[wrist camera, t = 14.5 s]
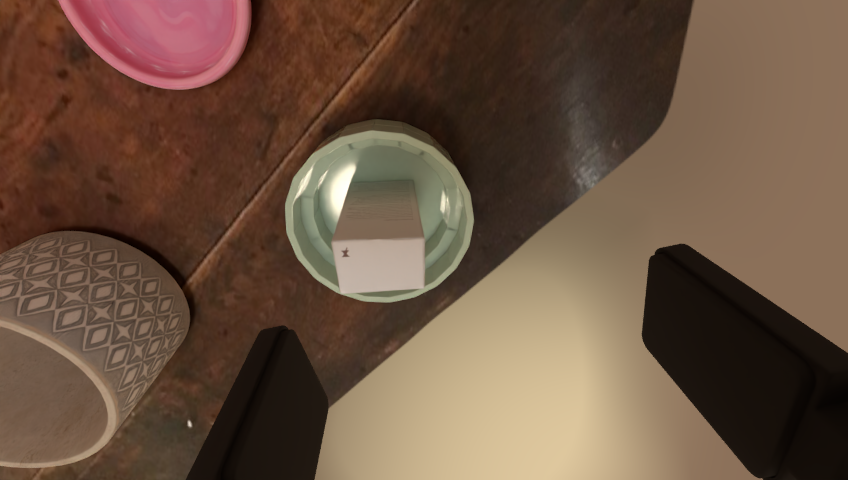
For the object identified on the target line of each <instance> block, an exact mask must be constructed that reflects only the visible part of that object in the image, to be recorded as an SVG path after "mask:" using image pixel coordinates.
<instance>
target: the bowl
mask: <svg viewBox="0 0 848 480" xmlns="http://www.w3.org/2000/svg"><path fill="white" fill-rule="evenodd" d="M407 180H413V181H414V184H415V190H416V195H417V201H418V207H419V212H420V218H421V223H422V228H423V232H424V237H425V288H424V289H409V290H393V291H379V292H365V293H350V294H342V295H345V296H348V297H351V298H355V299H358V300H361V301H369V302H394V301H399V300H404V299H409V298H413V297H416V296H418V295H420V294H422V293H424V292H426V291H428V290H430V289H432V288H434V287H436V286H438V285H439V284H440V283H441V282H442V281H443V280H444V279H445V278H446V277H448V276H449V275H450V274H451V273H452V272H453V271H454V270H455V269H456V268H457V267H458V265H459V263H460V261H461V259H462V258H463V256H464V254H465V252H466V251H467V249H468V247H469V244H470V239H471V234H472V229H473V224H474V215H473V209H472V202H471V195H470V192H469V190H468V188H467V186H466V184H465V183H464V181H463V179H462V177H461V175H460V173H459V171H458V169H457V168H456V166H455V164H454V162H453V160H452V159H451V157H450V155H449V153H448V152H447V151H446V150H445V149H444V148H443V147H442V146H441V145H440V144H439V143H438V142H437V141H436V140H435V139H434V138H433V137H432V136H430V135H429V134H428V133H426V132H424V131H422V130H420V129H417V128H415V127H413V126H411V125H409V124H407V123H404V122H399V121H390V120H381V119H372V120H367V121H363V122H358V123H354V124H349V125H347V126H345V127H343V128H342V129H340V130H339V131H337V132H335V133H334V134H332V135H331V136H329V137H327V138H326V139H325V140H323V142H322V143H321V144H320V145H319V146H318V148H317V149H316V150H315V151H314V152H313V153H312V155H311V156H310V157H309V158H308V160H307V161H306V162H305V164H304V165H303V166H302V167H301V169H300V170H299V171H298V172H297V174H296V175H295V176H294V178H293V181H292V184H291V187H290V190H289V193H288V197H287V200H286V203H285V215H286V232H287V235H288V237H289V240H290V242H291V245H292V247H293V249H294V252H295V254H296V256H297V258H298V260H299V261H300V262H301V263H302V264H303V265H304V266H305V268H306V269H307V270H308V271H309V272H310V273H311V275H312V276H313V277H314V278H315V279H316V280H318V281H320V282H321V283H323V284H324V285H326V286H327V287H329V288H330V289H332V290H333V291H335V292H337V293H339V294H341V293H340V290H339V284H338V278H337V272H336V267H335V261H334V255H333V250H332V244H331V241H332V238H333V235H334V233H335V230H336V226H337V223H338V219H339V216H340V213H341V210H342V207H343V203H344V200H345V197H346V194H347V191H348V188H349V185H350V183H355V182H380V181H407Z"/></svg>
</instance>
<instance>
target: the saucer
mask: <svg viewBox="0 0 848 480" xmlns="http://www.w3.org/2000/svg"><path fill="white" fill-rule="evenodd" d="M58 1H59V3H60V5H61V7H62V9H63V11H64V13H65V14H66V16H67V18H68V19H69V21H70V22H71V24H72V25H73V27H74V28H75V29H76V31H77V32H78V34H79V35H80V36H81V37H82V39H83V40H84V41H85V42H86V43H87V44H88V45H89V47H90V48H91V49H92V50H93V51H94V52H96V53H97V54H98V55H99V56H100V57H101V58H102V59H104V60H105V61H106V62H107V63H109V64H110V65H111V66H113V67H114V68H115V69H117V70H119V71H120V72H122V73H123V74H125V75H127V76H129V77H131V78H133V79H135V80H138V81H140V82H142V83H145V84H148V85H152V86H155V87H159V88H165V89H175V90H184V89H192V88H198V87H202V86H205V85H208V84H211V83H213V82H215V81H217V80H219V79H220V78H222V77H223V76H224V75H226V74H227V73H228V72H229V71H230V70H231V69H232V68H233V67H234V66H235V65H236V63H237V62H238V60H239V59H240V57H241V55H242V54H243V52H244V49H245V47H246V44H247V41H248V38H249V33H250V27H251V14H252V11H251V0H58Z"/></svg>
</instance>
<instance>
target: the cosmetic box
mask: <svg viewBox="0 0 848 480" xmlns="http://www.w3.org/2000/svg"><path fill="white" fill-rule="evenodd" d="M331 244H332V250H333V255H334V261H335V267H336V272H337V278H338V284H339V290H340V293H341V294H350V293H365V292H379V291H393V290H409V289H424V288H425V237H424V232H423V228H422V223H421V218H420V212H419V207H418V201H417V195H416V190H415V184H414V181H413V180H407V181H380V182H355V183H350V185H349V188H348V191H347V194H346V197H345V200H344V203H343V207H342V210H341V213H340V216H339V219H338V223H337V226H336V230H335V233H334V235H333V238H332V241H331Z"/></svg>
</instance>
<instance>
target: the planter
mask: <svg viewBox="0 0 848 480" xmlns="http://www.w3.org/2000/svg"><path fill="white" fill-rule="evenodd" d="M189 324H190V311H189V307H188V303H187V300H186V298H185V296H184V294H183V291H182V289H181V288H180V287H179V285H178V284H177V282H176V281H175V279H174V278H173V277H172V276H171V275H170V274H169V273H168V272H167V271H166V270H165V269H164V268H163V267H162V266H161V265H160V264H158V263H157V262H156V261H155V260H154V259H152V258H151V257H149V256H148V255H146V254H145V253H143V252H142V251H140V250H138V249H136V248H134V247H132V246H130V245H128V244H126V243H124V242H121V241H118V240H116V239H113V238H110V237H106V236H103V235H99V234H95V233H88V232H81V231H60V232H51V233H47V234H43V235H40V236H36V237H34V238H32V239H30V240H28V241H26V242H24V243H22V244H20V245H18V246H16V247H14V248H12V249H10V250H8V251H6V252H4V253H2V254H0V466H8V467H22V468H40V467H52V466H60V465H64V464H69V463H73V462H76V461H79V460H82V459H84V458H87V457H89V456H91V455H92V454H94V453H96V452H97V451H99V450H100V449H101V448H102V447H103V446H105V445H106V444H107V443H108V442H109V440H110V439H111V438H112V436H113V435H114V434H115V432H116V431H117V429H118V428H119V427H120V425H121V424H122V423H123V421H124V420H125V419H126V417H127V416H128V415H129V413H130V412H131V411H132V409H133V408H134V407H135V405H136V404H137V403H138V401H139V400H140V399H141V397H142V396H143V395H144V393H145V392H146V390H147V389H148V388H149V386H150V385H151V384H152V382H153V381H154V380H155V378H156V377H157V376H158V374H159V373H160V372H161V370H162V369H163V368H164V366H165V365H166V364H167V362H168V361H169V360H170V358H171V357H172V356H173V354H174V353H175V351H176V350H177V349H178V347H179V346H180V345H181V343H182V342H183V340H184V339H185V337H186V335H187V332H188V330H189Z"/></svg>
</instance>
